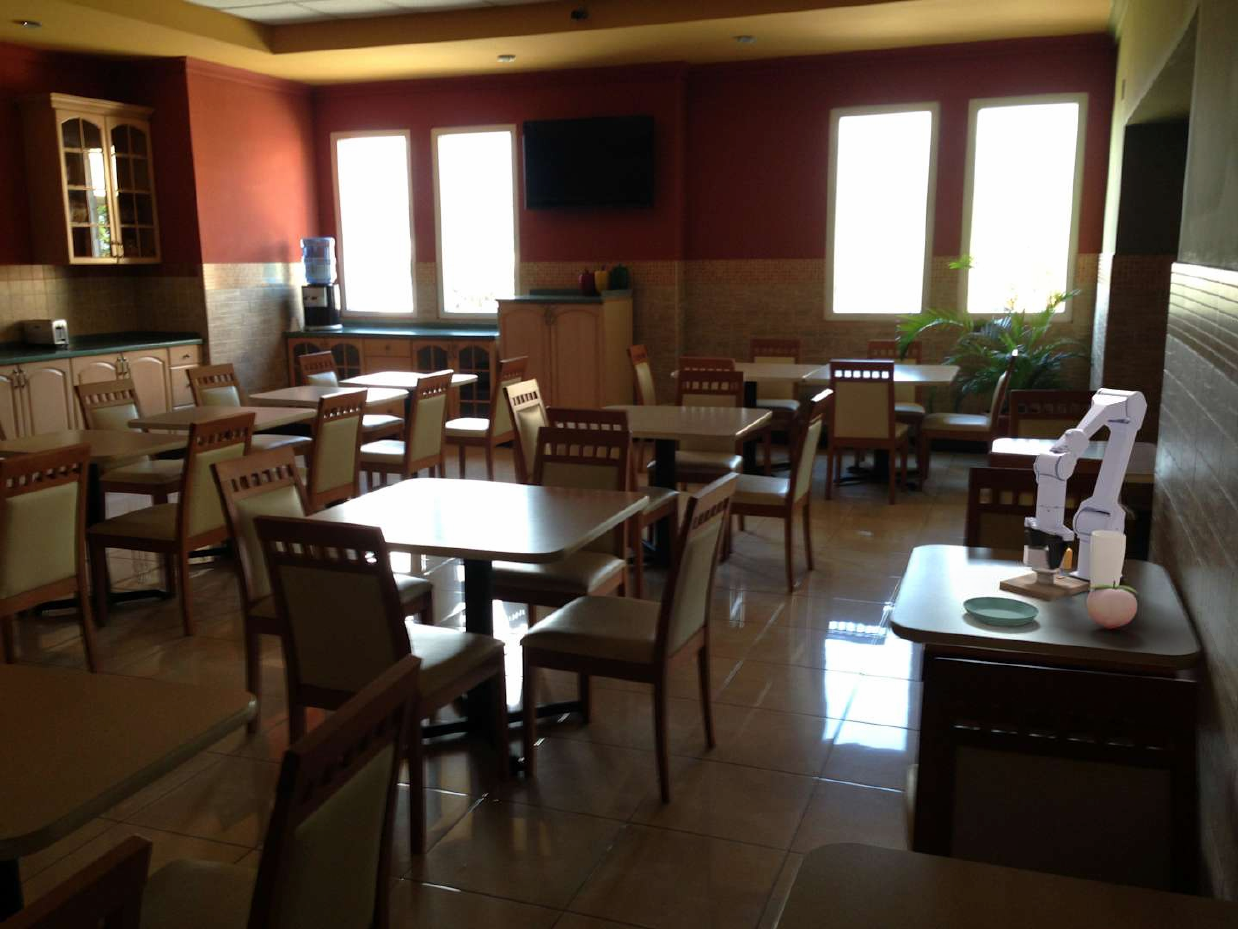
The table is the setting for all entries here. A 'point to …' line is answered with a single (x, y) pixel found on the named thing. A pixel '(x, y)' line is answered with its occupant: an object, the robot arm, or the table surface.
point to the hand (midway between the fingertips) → (1045, 564)
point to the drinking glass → (1106, 557)
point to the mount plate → (1044, 586)
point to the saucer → (1000, 611)
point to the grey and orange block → (1044, 559)
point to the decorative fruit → (1111, 604)
